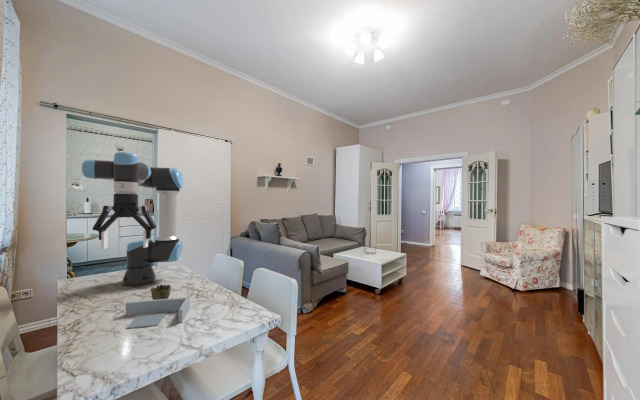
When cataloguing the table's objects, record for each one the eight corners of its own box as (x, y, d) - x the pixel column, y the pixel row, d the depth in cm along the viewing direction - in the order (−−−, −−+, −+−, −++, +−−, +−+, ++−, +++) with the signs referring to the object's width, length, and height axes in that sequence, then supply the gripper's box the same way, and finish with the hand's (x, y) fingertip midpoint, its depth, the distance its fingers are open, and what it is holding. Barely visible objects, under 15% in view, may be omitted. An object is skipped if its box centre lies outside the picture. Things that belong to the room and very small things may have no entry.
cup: (158, 309, 106) (159, 291, 106) (146, 306, 109) (146, 288, 109) (174, 303, 113) (174, 285, 113) (162, 300, 116) (162, 283, 116)
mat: (138, 316, 100) (138, 315, 100) (166, 313, 103) (166, 312, 103) (126, 329, 91) (126, 327, 91) (157, 325, 93) (157, 324, 93)
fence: (127, 314, 102) (127, 302, 102) (189, 308, 108) (190, 296, 108) (110, 330, 90) (110, 316, 90) (182, 322, 96) (182, 309, 96)
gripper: (80, 192, 90) (79, 251, 90) (159, 193, 97) (158, 248, 97) (93, 192, 97) (92, 247, 97) (165, 194, 104) (164, 245, 104)
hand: (125, 248), depth 97 cm, fingers open, 13 cm apart
